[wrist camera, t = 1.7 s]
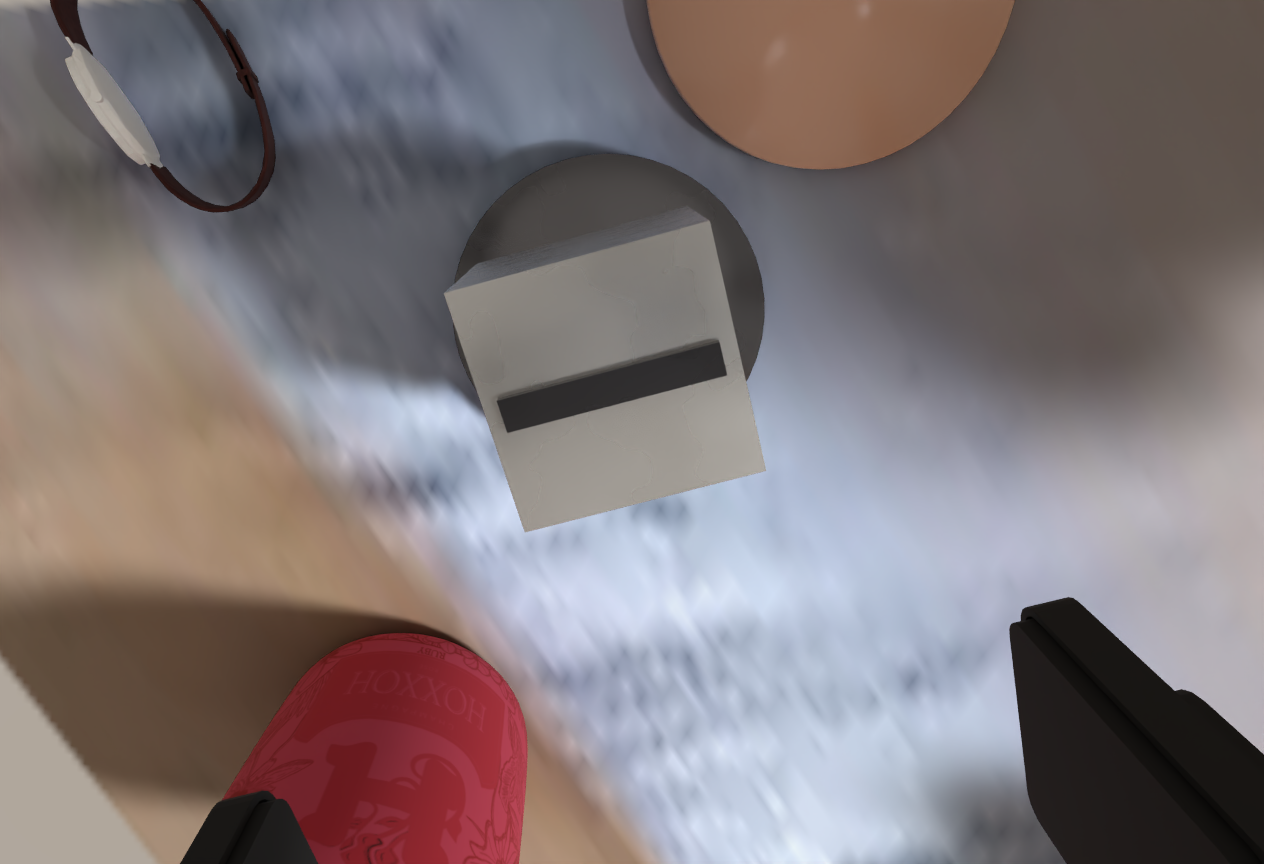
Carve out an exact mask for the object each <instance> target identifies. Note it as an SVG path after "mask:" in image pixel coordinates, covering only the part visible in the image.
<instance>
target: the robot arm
mask: <svg viewBox="0 0 1264 864" xmlns="http://www.w3.org/2000/svg"><path fill="white" fill-rule="evenodd" d="M1009 631H1010V643H1011V651H1012V660H1013V669H1014V677H1015V686H1016V695H1017V704H1018V712H1019V721H1020V730H1021V738H1022V747H1023V756H1024V765H1025V773H1026V782H1027V790H1028V795H1029V799H1030V802H1031V805H1032V808H1033V810H1034V813H1035V815H1036V817H1037V819H1038V821H1039V822H1040V824H1041V826H1042V827H1043V829H1044V830H1045V832H1046V833H1047V835H1048V836H1049V838H1050V839H1051V841H1052V842H1053V844H1054V845H1055V847H1056V848H1057V850H1058V851H1059V853H1060V854H1061V856H1062V857H1063V859H1064V860H1065V862H1066V863H1067V864H1264V754H1263V753H1261V752H1260V751H1259V750H1258V749H1257V748H1256V747H1255V746H1254V745H1253V744H1251V743H1250V742H1249V741H1248V740H1247V739H1246V738H1245V737H1244V736H1243V735H1241V734H1240V733H1239V732H1238V731H1237V730H1236V729H1235V728H1234V727H1233V726H1231V725H1230V724H1229V723H1228V722H1227V721H1226V720H1225V719H1224V718H1223V717H1221V716H1220V715H1219V714H1218V713H1217V712H1216V711H1215V710H1214V709H1213V708H1211V707H1210V706H1209V705H1208V704H1207V703H1206V702H1205V701H1203V700H1202V699H1201V698H1199V697H1198V696H1197V695H1195V694H1194V693H1192V692H1189V691H1186V690H1182V689H1181V690H1177V691H1174V690H1173V689H1172V688H1171V687H1170V686H1169V685H1168V684H1167V683H1165V682H1164V681H1163V680H1162V679H1161V678H1160V677H1159V676H1158V675H1157V674H1156V673H1155V672H1154V671H1153V670H1151V669H1150V668H1149V667H1148V666H1147V665H1146V664H1145V663H1144V662H1143V661H1142V660H1141V659H1140V658H1139V657H1137V656H1136V655H1135V654H1134V653H1133V652H1132V651H1131V650H1130V649H1129V648H1128V647H1127V646H1126V645H1125V644H1123V643H1122V642H1121V641H1120V640H1119V639H1118V638H1117V637H1116V636H1115V635H1114V634H1113V633H1112V632H1111V631H1109V630H1108V629H1107V628H1106V627H1105V626H1104V625H1103V624H1102V623H1101V622H1100V621H1099V620H1098V619H1097V618H1095V617H1094V616H1093V615H1092V614H1091V613H1090V612H1089V611H1088V610H1087V609H1086V608H1085V607H1084V606H1083V605H1081V604H1080V603H1079V602H1078V601H1077V600H1075V599H1074V598H1070V597H1067V598H1063V599H1059V600H1055V601H1050V602H1046V603H1042V604H1038V605H1034V606H1030V607H1025V608H1024V609H1023V610H1022V613H1021V621H1020V622H1016V623H1012V624H1011V625H1010V629H1009ZM180 864H318V862H317V860H316V858H315V856H314V854H313V852H312V850H311V848H310V846H309V844H308V842H307V840H306V838H305V836H304V834H303V832H302V830H301V828H300V825H299V823H298V821H297V819H296V817H295V815H294V813H293V811H292V809H291V807H290V806H289V804H288V803H287V801H285V800H284V799H276V798H275V797H274V795H273V794H272V793H270V792H269V791H263V790H262V791H258V792H254V793H249V794H245V795H241V796H237V797H233V798H229V799H224V800H222V801H220V802H218V803H216V805H215V806H214V807H213V809H212V810H211V811H210V813H209V815H208V817H207V818H206V820H205V822H204V824H203V825H202V827H201V829H200V830H199V832H198V834H197V836H196V837H195V839H194V841H193V842H192V844H191V846H190V848H189V849H188V851H187V853H186V854H185V856H184V858H183V860H182V861H181V863H180Z"/></svg>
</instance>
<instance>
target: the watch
mask: <svg viewBox="0 0 1264 864" xmlns="http://www.w3.org/2000/svg"><path fill="white" fill-rule="evenodd" d="M193 1H194V2H195V3H196V4H197V5H198V6H199V7H200V9H201V10H202V12H203V13H204V14H205V16H206V17H207V19H208V20H209V21H210V23H211V24H212V26H213V28H214V30H215V31H216V33H217V35H218V36H219V38H220V40H221V41H222V43H223V45H224V46H225V48H226V50H227V52H228V54H229V56H230V58H231V60H232V62H233V64H234V66H235V68H236V70H237V73H236V75H237V78H238V80H239V81H240V83H241V84H242V85H243V87H244V90H245V92H246V93H247V94H248V95H249V96H250V97H251V98H252V99H255V102H256V106H257V110H258V114H259V118H260V122H261V127H262V133H263V142H264V151H265V152H264V159H263V167H262V170H261V173H260V175H259V178H258V181H257V183H256V185H255V186H254V187H253V189H252V190H251V191H250V193H249V194H248V195H247V196H246V197H244V198H243V199H242V200H241V201H239V202H237V203H235V204H233V205H230V206H219V205H214V204H211V203H208V202H205V201H203V200H201V199H200V198H198V197H196V196H195V195H193V194H192V193H191V192H189V191H188V190H187V189H185V188H184V187H183V186H182V185H181V184H180V183H179V182H178V181H177V180H176V179H175V178H174V177H173V176H172V174H171V173H170V172H169V171H168V169H167V168H166V167H164V166H163V165H162V163H161V162H160V160H159V159H160V154H159V152H158V149H157V147H156V145H155V143H154V141H153V139H152V137H151V135H150V133H149V132H148V130H147V128H146V126H145V125H144V123H143V121H142V119H141V117H140V116H139V114H138V112H137V111H136V110H135V108H134V107H133V105H132V104H131V103H130V101H129V100H128V98H127V97H126V96H125V94H124V93H123V92H122V90H121V89H120V87H119V86H118V85H117V83H116V82H115V81H114V79H113V78H112V77H111V75H110V74H109V73H108V71H107V70H106V69H105V67H104V66H103V65H102V64H101V63H100V62H99V61H98V60H97V59H95V58H94V57H93V53H92V51H91V49H90V47H89V45H88V43H87V41H86V39H85V36H84V33H83V30H82V27H81V24H80V20H79V15H78V10H77V3H78V0H50V3H51V7H52V10H53V12H54V15H55V18H56V20H57V23H58V25H59V27H60V29H61V30H62V32H63V34H64V35H65V39H66V40H67V42H68V43H69V45H70V46H71V48H72V49H73V53H72V56H71V57H68V58H65V62H66V65H67V67H68V70H69V73H70V75H71V77H72V79H73V81H74V83H75V85H76V87H77V89H78V90H79V92H80V93H81V95H82V97H83V98H84V100H85V101H86V103H87V105H88V106H89V108H90V109H91V111H92V112H93V113H94V115H95V116H96V118H97V119H98V121H99V122H100V123H101V125H102V126H103V127H104V128H105V130H106V131H107V132H108V133H109V135H110V136H111V137H112V138H113V140H114V141H115V142H116V143H117V144H118V145H119V147H120V148H121V149H122V150H123V151H124V152H125V153H126V155H127V156H128V157H130V158H131V159H132V160H134V161H135V162H137V163H138V164H140V165H143V164H145V163H146V164H147V166H148V167H149V168H150V169H151V170H152V171H153V173H154V174H155V176H156V177H157V178H158V179H159V180H160V181H161V183H162V184H163V185H164V186H165V187H166V188H167V189H168V190H169V191H170V192H171V193H172V194H174V195H175V196H176V197H177V198H179V199H180V200H182V201H183V202H185V203H187V204H188V205H190V206H192V207H195V208H197V209H200V210H203V211H208V212H229V211H233V210H236V209H240V208H244V207H246V206H247V205H249V204H251V203H253V202H254V201H256V200H257V199H258V198H259V197H260V196H261V194H262V193H263V192H264V190H265V189H266V188H267V186H268V184H269V182H270V179H271V177H272V174H273V172H274V166H275V159H276V155H275V140H274V136H273V132H272V128H271V124H270V119H269V116H268V112H267V108H266V105H265V101H264V98H263V96H262V93H261V90H260V88H259V85H258V83H259V81H258V78H257V76H256V75H255V74H254V72H253V71H252V69H251V67H250V65H249V63H248V61H247V59H246V57H245V55H244V53H243V51H242V49H241V47H240V45H239V44H238V42H237V40H236V38H235V37H234V35H233V34H232V33H231V31H230V30H229V29H226V33H227V36H228V38H229V40H228V38H227V37H226V35H225V33H224V32H223V30H222V28H221V27H220V25H219V24H218V22H217V21H216V20H215V18H214V17H213V15H212V14H211V13H210V11H209V10H208V9H207V8H206V6H205V5H204V4H203V3H202V1H201V0H193ZM229 41H230V42H229Z"/></svg>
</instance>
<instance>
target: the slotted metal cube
mask: <svg viewBox="0 0 1264 864" xmlns="http://www.w3.org/2000/svg"><path fill="white" fill-rule="evenodd" d="M444 296H445V299H446V302H447V305H448V307H449V310H450V313H451V316H452V319H453V322H454V325H455V328H456V331H457V334H458V337H459V340H460V343H461V346H462V349H463V352H464V355H465V358H466V361H467V363H468V366H469V369H470V372H471V375H472V378H473V381H474V384H475V387H476V390H477V393H478V396H479V399H480V402H481V405H482V408H483V411H484V414H485V416H486V419H487V422H488V425H489V428H490V431H491V434H492V437H493V440H494V443H495V446H496V449H497V452H498V455H499V458H500V461H501V464H502V467H503V469H504V472H505V475H506V478H507V481H508V484H509V487H510V490H511V493H512V496H513V499H514V502H515V505H516V508H517V511H518V514H519V517H520V520H521V522H522V525H523V528H524V531H525V532H528V531H532V530H536V529H540V528H544V527H548V526H552V525H556V524H560V523H564V522H568V521H571V520H575V519H579V518H583V517H587V516H591V515H595V514H599V513H603V512H607V511H611V510H615V509H618V508H622V507H626V506H630V505H634V504H638V503H642V502H646V501H650V500H654V499H658V498H662V497H665V496H669V495H673V494H677V493H681V492H685V491H689V490H693V489H697V488H701V487H705V486H709V485H713V484H716V483H720V482H724V481H728V480H732V479H736V478H740V477H744V476H748V475H752V474H756V473H760V472H763V471H766V468H765V464H764V459H763V455H762V450H761V446H760V441H759V437H758V432H757V428H756V424H755V419H754V415H753V410H752V406H751V401H750V397H749V393H748V388H747V384H746V379H745V375H744V370H743V366H742V361H741V357H740V353H739V348H738V344H737V339H736V335H735V330H734V326H733V322H732V317H731V313H730V308H729V304H728V299H727V295H726V290H725V286H724V282H723V277H722V273H721V268H720V264H719V259H718V255H717V251H716V246H715V242H714V237H713V233H712V228H711V224H710V221H709V220H708V219H706V218H705V217H703V216H702V215H700V214H699V213H697V212H696V211H694V210H693V209H691V208H690V207H688V206H685V207H682V208H678V209H674V210H671V211H667V212H663V213H660V214H656V215H652V216H649V217H645V218H641V219H638V220H634V221H630V222H627V223H623V224H619V225H616V226H612V227H609V228H605V229H601V230H598V231H594V232H590V233H587V234H583V235H579V236H576V237H572V238H568V239H565V240H561V241H557V242H554V243H550V244H546V245H543V246H539V247H536V248H532V249H528V250H525V251H521V252H517V253H514V254H510V255H506V256H503V257H499V258H495V259H492V260H488V261H484V262H481V263H477V264H476V265H475V266H474V267H472V268H471V269H470V270H469V271H468V272H467V273H466V274H465V275H464V276H462V277H461V278H460V279H459V280H458V281H457V282H456V283H455V284H453V285H452V286H451V287H450V288H449V289H448V290H447V291H446V292H444Z"/></svg>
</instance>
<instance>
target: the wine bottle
mask: <svg viewBox="0 0 1264 864" xmlns="http://www.w3.org/2000/svg"><path fill="white" fill-rule="evenodd" d="M526 774H527V731H526V726H525V721H524V717H523V714H522V711H521V708H520V705H519V703H518V701H517V699H516V697H515V695H514V693H513V691H512V690H511V688H510V687H509V685H508V684H507V682H506V681H505V680H504V679H503V677H502V676H501V675H500V674H499V673H498V672H497V671H496V670H495V669H494V668H493V667H492V666H491V665H490V664H488V663H487V662H486V661H484V660H483V659H482V658H480V657H479V656H477V655H476V654H474V653H472V652H471V651H469V650H467V649H465V648H463V647H461V646H459V645H457V644H455V643H452V642H449V641H447V640H444V639H440V638H437V637H433V636H427V635H422V634H412V633H390V634H380V635H374V636H369V637H365V638H362V639H358V640H355V641H353V642H350V643H347V644H345V645H343V646H341V647H339V648H337V649H335V650H334V651H332V652H331V653H329V654H328V655H326V656H325V657H323V658H322V659H321V660H320V661H318V662H317V663H316V664H315V665H314V666H312V667H311V668H310V669H309V670H308V671H307V672H306V674H305V675H304V676H303V677H302V678H301V679H300V680H299V682H298V683H297V684H296V685H295V687H294V688H293V690H292V691H291V692H290V694H289V695H288V697H287V698H286V700H285V701H284V703H283V704H282V706H281V707H280V709H279V710H278V712H277V713H276V715H275V716H274V718H273V719H272V721H271V722H270V724H269V726H268V727H267V729H266V730H265V732H264V733H263V735H262V737H261V738H260V740H259V741H258V743H257V744H256V746H255V748H254V749H253V751H252V752H251V754H250V756H249V757H248V759H247V760H246V762H245V764H244V765H243V767H242V768H241V770H240V772H239V773H238V775H237V776H236V778H235V780H234V781H233V783H232V785H231V786H230V788H229V789H228V791H227V793H226V794H225V796H224V798H223V799H222V800H224V799H229V798H233V797H237V796H241V795H245V794H249V793H254V792H258V791H262V790H263V791H269V792H270V793H272V794H273V795H274V797H275V798H276V799H284V800H285V801H287V803H288V804H289V806H290V807H291V809H292V811H293V813H294V815H295V817H296V819H297V821H298V823H299V825H300V828H301V830H302V832H303V834H304V836H305V838H306V840H307V842H308V844H309V846H310V848H311V850H312V852H313V854H314V856H315V858H316V860H317V862H318V864H519V857H520V846H521V836H522V825H523V813H524V802H525V789H526Z"/></svg>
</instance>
